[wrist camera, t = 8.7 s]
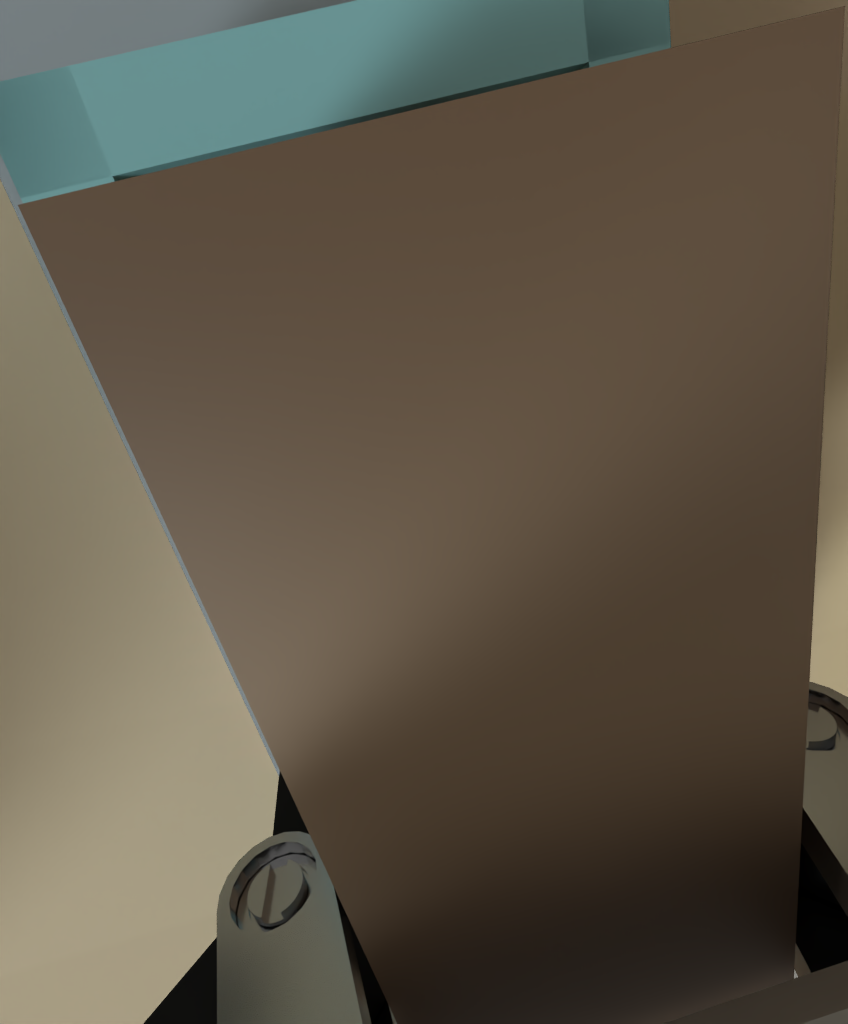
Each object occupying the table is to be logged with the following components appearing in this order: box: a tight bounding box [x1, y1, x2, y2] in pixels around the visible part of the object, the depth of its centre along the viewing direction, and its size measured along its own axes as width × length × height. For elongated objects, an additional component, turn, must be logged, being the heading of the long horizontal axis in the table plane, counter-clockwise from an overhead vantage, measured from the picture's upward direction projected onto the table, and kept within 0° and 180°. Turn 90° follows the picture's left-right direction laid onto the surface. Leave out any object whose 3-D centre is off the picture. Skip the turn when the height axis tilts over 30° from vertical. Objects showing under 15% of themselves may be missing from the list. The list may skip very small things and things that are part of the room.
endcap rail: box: [0, 0, 671, 775], centre depth 12 cm, size 24×11×5 cm, turn 13°
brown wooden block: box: [18, 6, 845, 1024], centre depth 9 cm, size 15×4×7 cm, turn 13°
